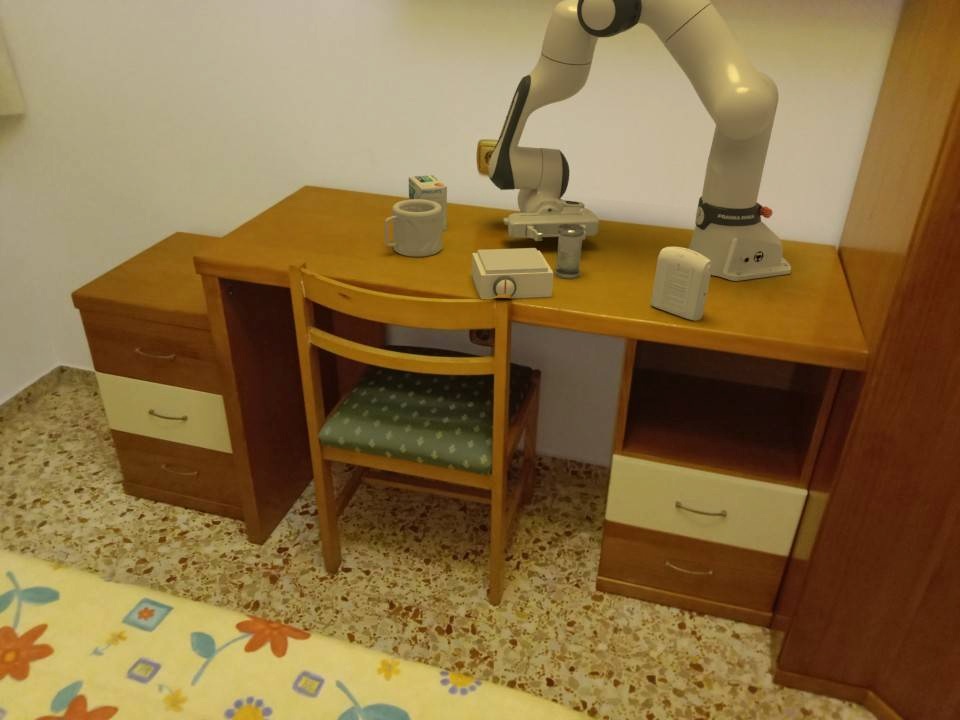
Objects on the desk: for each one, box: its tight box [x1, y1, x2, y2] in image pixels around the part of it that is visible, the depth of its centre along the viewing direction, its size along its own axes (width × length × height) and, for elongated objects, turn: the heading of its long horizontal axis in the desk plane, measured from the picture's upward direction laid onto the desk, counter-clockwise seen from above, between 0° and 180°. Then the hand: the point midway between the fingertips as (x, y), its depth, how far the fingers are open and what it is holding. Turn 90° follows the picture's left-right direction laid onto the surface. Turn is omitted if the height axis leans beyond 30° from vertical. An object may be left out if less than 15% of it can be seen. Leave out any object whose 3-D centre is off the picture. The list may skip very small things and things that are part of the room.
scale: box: [471, 247, 555, 299], centre depth 148 cm, size 14×13×6 cm
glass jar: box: [554, 224, 584, 280], centre depth 154 cm, size 5×5×10 cm
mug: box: [384, 199, 443, 258], centre depth 164 cm, size 14×11×10 cm
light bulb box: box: [408, 174, 448, 232], centre depth 180 cm, size 11×7×11 cm, turn 21°
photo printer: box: [650, 246, 712, 322], centre depth 139 cm, size 10×4×12 cm, turn 47°
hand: (560, 236), depth 161 cm, fingers open, 8 cm apart
